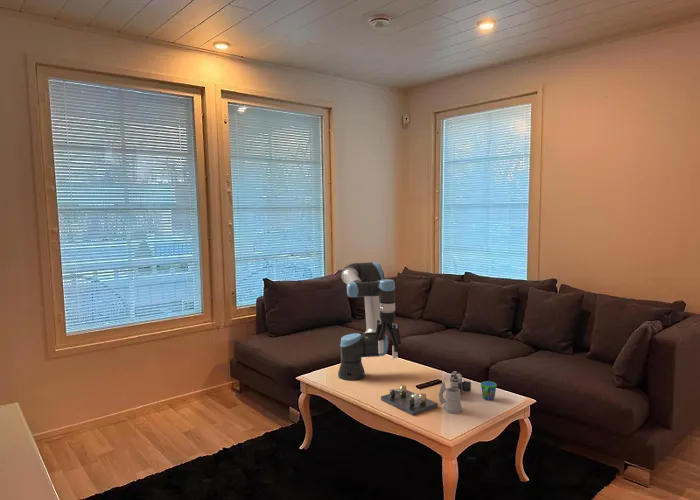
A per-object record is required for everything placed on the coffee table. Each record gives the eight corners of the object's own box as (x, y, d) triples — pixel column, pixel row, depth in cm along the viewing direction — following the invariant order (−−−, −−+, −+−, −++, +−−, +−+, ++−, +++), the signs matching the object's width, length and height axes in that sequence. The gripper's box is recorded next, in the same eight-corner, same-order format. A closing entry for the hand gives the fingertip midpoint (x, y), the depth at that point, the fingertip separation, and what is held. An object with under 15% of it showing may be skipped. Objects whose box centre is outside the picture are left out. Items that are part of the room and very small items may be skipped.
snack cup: (485, 393, 254) (485, 378, 254) (500, 396, 250) (500, 381, 249) (476, 400, 245) (476, 385, 244) (492, 403, 240) (492, 388, 240)
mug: (455, 415, 228) (455, 389, 227) (434, 408, 236) (434, 383, 235) (464, 410, 233) (465, 385, 232) (444, 403, 241) (444, 379, 240)
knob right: (407, 405, 233) (407, 397, 233) (422, 401, 239) (422, 392, 239) (412, 407, 231) (412, 399, 230) (427, 403, 236) (427, 394, 236)
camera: (471, 400, 245) (471, 380, 245) (450, 398, 248) (450, 379, 247) (470, 388, 261) (470, 370, 260) (450, 387, 263) (450, 369, 262)
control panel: (381, 400, 247) (380, 392, 246) (405, 393, 256) (405, 385, 255) (412, 415, 228) (412, 407, 228) (437, 407, 237) (437, 399, 237)
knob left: (388, 396, 245) (388, 388, 244) (403, 392, 250) (403, 384, 250) (392, 398, 242) (392, 390, 242) (407, 394, 248) (407, 386, 247)
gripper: (367, 308, 253) (367, 351, 255) (396, 316, 234) (397, 362, 236) (379, 306, 257) (379, 349, 259) (408, 313, 239) (408, 359, 240)
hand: (387, 355), depth 247 cm, fingers open, 10 cm apart
